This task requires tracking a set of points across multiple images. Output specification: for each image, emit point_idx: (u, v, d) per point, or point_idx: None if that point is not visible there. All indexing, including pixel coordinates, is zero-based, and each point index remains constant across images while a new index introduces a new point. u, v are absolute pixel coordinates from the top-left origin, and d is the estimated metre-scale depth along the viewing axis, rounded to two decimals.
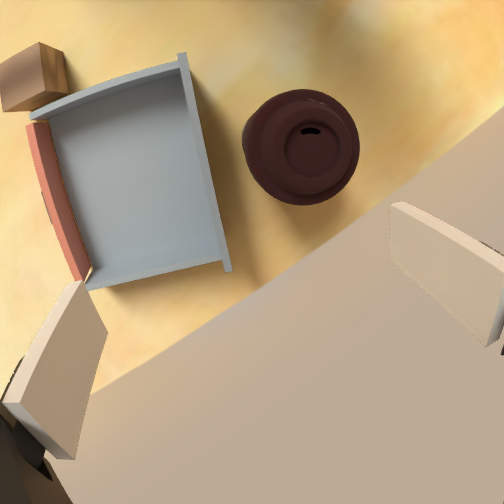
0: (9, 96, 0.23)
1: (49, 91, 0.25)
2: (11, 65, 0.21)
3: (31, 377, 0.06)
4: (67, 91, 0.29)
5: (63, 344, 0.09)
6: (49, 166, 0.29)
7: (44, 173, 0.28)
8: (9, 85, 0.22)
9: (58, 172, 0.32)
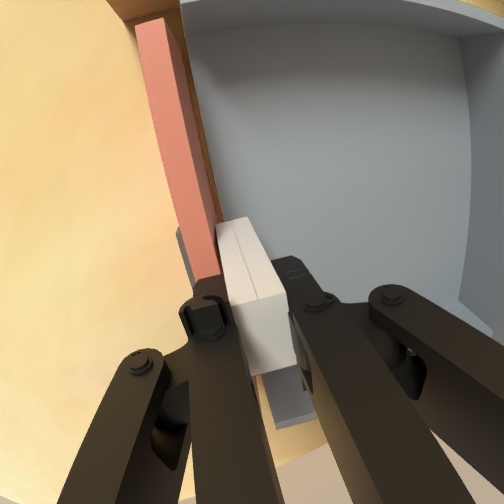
0: None
1: None
2: None
3: (252, 281, 0.09)
4: None
5: None
6: (197, 158, 0.12)
7: (195, 181, 0.10)
8: None
9: (205, 172, 0.15)
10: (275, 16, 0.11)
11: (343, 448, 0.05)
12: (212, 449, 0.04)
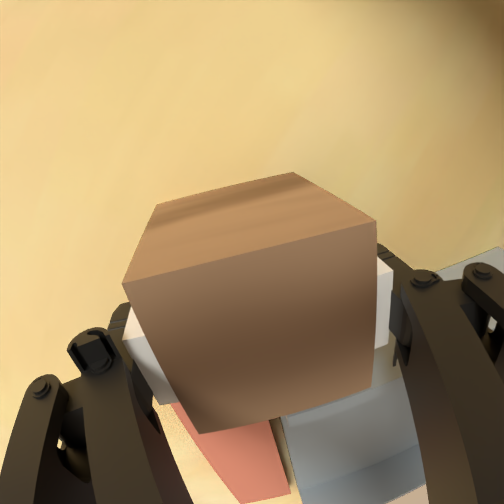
0: (225, 404, 0.09)
1: None
2: (222, 302, 0.07)
3: None
4: None
5: None
6: (222, 433, 0.17)
7: (195, 441, 0.18)
8: (221, 375, 0.08)
9: (263, 433, 0.18)
10: None
11: (432, 414, 0.05)
12: (107, 475, 0.04)
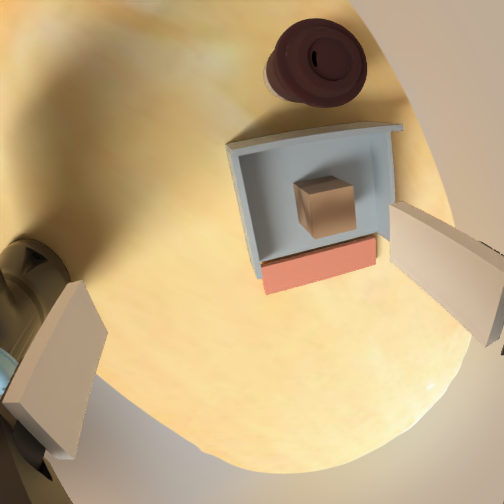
0: (323, 227, 0.39)
1: None
2: (326, 199, 0.38)
3: (31, 377, 0.06)
4: None
5: (63, 344, 0.09)
6: (297, 275, 0.50)
7: (301, 284, 0.51)
8: (323, 217, 0.39)
9: (302, 260, 0.49)
10: None
11: None
12: None
